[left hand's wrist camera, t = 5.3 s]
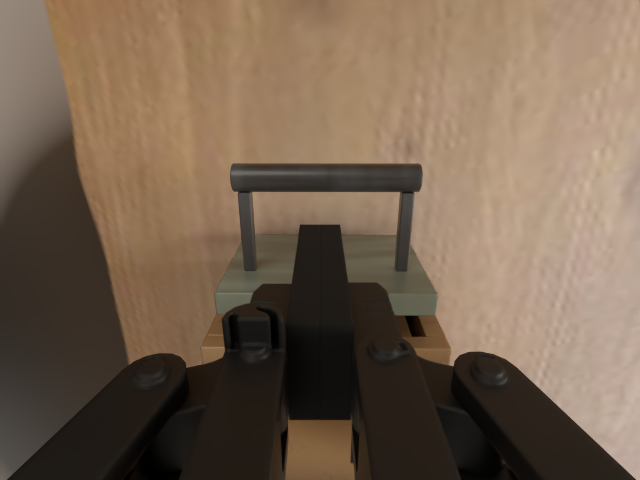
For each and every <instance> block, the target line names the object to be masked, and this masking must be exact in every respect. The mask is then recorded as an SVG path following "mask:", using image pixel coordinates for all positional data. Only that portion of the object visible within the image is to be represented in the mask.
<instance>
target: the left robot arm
mask: <svg viewBox="0 0 640 480" xmlns="http://www.w3.org/2000/svg"><path fill="white" fill-rule="evenodd" d="M221 320H222V329H223V338H224V347H225V352H224V355H223V357H222V358H220V359H218V360H216V361H213V362H210V363H207V364H203V365H198V366H194V367H189V368H186V363H185V362H184V360H183V359H182V358H181V357H179V356H177V355H174V354H167V353H159V354H154V355H149V356H146V357H143V358H141V359H139V360H136V361H134V362H133V363H131V364H130V365H129V366H127V367H126V368H125V369H123V370H122V371H121V372H120V373H119V374H118V375H117V376H116V377H115V378H114V379H113V380H112V381H111V382H110V383H109V384H108V385H107V386H106V387H104V388H103V389H102V390H101V391H100V392H99V393H98V394H97V395H96V396H95V397H94V398H93V399H92V400H91V401H90V402H89V403H88V404H87V405H85V406H84V407H83V408H82V409H81V410H80V411H79V412H78V413H77V414H76V415H75V416H74V417H73V418H72V419H71V420H70V421H69V422H67V423H66V424H65V425H64V426H63V427H62V428H61V429H60V430H59V431H58V432H57V433H56V434H55V435H54V436H53V437H52V438H51V439H50V440H49V441H47V442H46V443H45V444H44V445H43V446H42V447H41V448H40V449H39V450H38V451H37V452H36V453H35V454H34V455H33V456H32V457H31V458H30V459H29V460H27V461H26V462H25V463H24V464H23V465H22V466H21V467H20V468H19V469H18V470H17V471H16V472H15V473H14V474H13V475H12V476H11V477H9V478H8V479H7V480H285V476H286V465H287V453H288V441H289V435H288V418H289V420H351V416H352V435H351V460H350V463H353V464H354V476H355V480H636V479H635V478H634V477H633V476H631V475H630V474H629V473H628V472H627V471H626V470H625V469H624V468H623V467H622V466H621V465H620V464H619V463H618V462H617V461H616V460H614V459H613V458H612V457H611V456H610V455H609V454H608V453H607V452H606V451H605V450H604V449H603V448H602V447H601V446H600V445H599V444H597V443H596V442H595V441H594V440H593V439H592V438H591V437H590V436H589V435H588V434H587V433H586V432H585V431H584V430H583V429H582V428H580V427H579V426H578V425H577V424H576V423H575V422H574V421H573V420H572V419H571V418H570V417H569V416H568V415H567V414H566V413H565V412H563V411H562V410H561V409H560V408H559V407H558V406H557V405H556V404H555V403H554V402H553V401H552V400H551V399H550V398H549V397H548V396H546V395H545V394H544V393H543V392H542V391H541V390H540V389H539V388H538V387H537V386H536V385H535V384H534V383H533V382H532V381H531V380H529V379H528V378H527V377H526V376H525V375H524V374H523V373H522V372H521V371H520V370H519V369H518V368H517V367H515V366H514V365H513V364H511V363H510V362H509V361H507V360H506V359H503V358H501V357H499V356H496V355H494V354H490V353H485V352H467V353H465V354H462V355H460V356H459V357H458V358H457V359H456V360H455V362H454V366H449V365H445V364H440V363H435V362H432V361H429V360H426V359H424V358H421V357H419V356H417V354H416V352H415V350H414V348H413V347H412V345H411V344H410V343H409V342H408V341H406V340H405V339H403V338H402V335H401V332H400V329H399V326H398V323H397V320H396V317H395V314H394V311H393V308H392V305H391V302H390V299H389V296H388V293H387V291H386V290H385V289H384V288H383V287H382V286H381V285H380V284H378V283H377V282H348V277H347V270H346V263H345V256H344V249H343V243H342V236H341V229H340V225H300V229H299V236H298V243H297V249H296V256H295V263H294V270H293V277H292V284H262V285H261V286H260V287H258V288H257V289H256V290H255V291H254V292H253V295H252V298H251V301H250V303H248V304H243V305H240V306H237V307H234V308H233V309H231V310H229V311H228V312H226V313H225V315H224V316H223V317H222V319H221Z"/></svg>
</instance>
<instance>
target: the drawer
mask: <svg viewBox="0 0 640 480" xmlns="http://www.w3.org/2000/svg"><path fill="white" fill-rule="evenodd" d="M422 178H423V174H422V167H421V165H420V164H240V163H234V164H232V166H231V171H230V181H231V187H232V190H233V191H234V192H238V202H239V215H240V227H241V239H242V242H241V244H240V246H239V248H238V250H237V252H236V254H235V255H234V257H233V259H232V261H231V263H230V265H229V267H228V269H227V270H226V272H225V274H224V276H223V278H222V280H221V282H220V284H219V285H218V287H217V289H216V291H215V293H214V296H215V304H216V313H217V314H218V315H225V313H226V312H228V311H229V310H231V309H233V308H234V307H237V306H240V305H243V304H248V303H250V301H251V298H252V295H253V292H254V291H255V290H256V289H257V288H258V287H260V286H261V285H262V284H292V277H293V270H294V263H295V256H296V249H297V243H298V236H299V235H255V228H254V213H253V198H252V192H400V201H399V213H398V226H397V235H341V236H342V243H343V249H344V256H345V263H346V270H347V277H348V282H377V283H378V284H380V285H381V286H382V287H383V288H384V289H385V290H386V291H387V293H388V296H389V299H390V302H391V305H392V308H393V311H394V314H395V317H396V320H397V323H398V326H399V329H400V332H401V335H402V337H412V336H411V333H410V330H409V327H408V324H407V321H406V318H405V316H434V315H435V314H436V306H437V298H438V294H437V292H436V290H435V288H434V286H433V284H432V283H431V281H430V279H429V277H428V275H427V274H426V272H425V270H424V268H423V266H422V264H421V263H420V261H419V259H418V257H417V255H416V253H415V252H414V250H413V248H412V246H411V244H410V239H411V228H412V217H413V206H414V196H415V194H414V192H419V191H420V189H421V186H422Z"/></svg>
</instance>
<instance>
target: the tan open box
mask: <svg viewBox="0 0 640 480" xmlns="http://www.w3.org/2000/svg"><path fill="white" fill-rule="evenodd" d="M223 316H224V315H218V314H216V316H215V318H214V320H213V323H212V325H211V327H210V329H209V331H208V333H207V336H206V337H205V340H204V342H203V344H202V346H201V353H202V361H203V364H207V363H210V362H213V361H216V360H218V359H220V358H222V357H223V355H224V352H225V347H224V338H223V329H222V320H221V319H222V317H223ZM405 318H406V321H407V324H408V327H409V330H410V333H411V336H412V337H402V338H403V339H405V340H406V341H408V342H409V343H410V344H411V345H412V347H413V348H414V350H415V352H416V354H417V356H419V357H421V358H424V359H426V360H429V361H432V362H435V363H440V364H445V365H449V361H450V355H451V347H450V345H449V343H448V341H447V339H446V337H445V334H444V332H443V330H442V328H441V326H440V324H439V322H438V320H437V318H436V316H435V315H434V316H405ZM288 435H289V441H288V453H287V465H286V476H285V480H355V476H354V464H353V463H350V460H351V435H352V416H351V420H289V418H288Z"/></svg>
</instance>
